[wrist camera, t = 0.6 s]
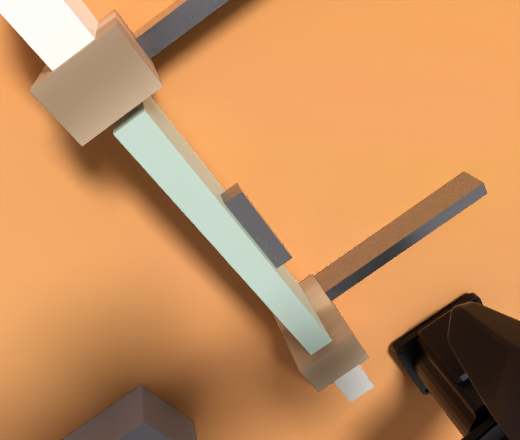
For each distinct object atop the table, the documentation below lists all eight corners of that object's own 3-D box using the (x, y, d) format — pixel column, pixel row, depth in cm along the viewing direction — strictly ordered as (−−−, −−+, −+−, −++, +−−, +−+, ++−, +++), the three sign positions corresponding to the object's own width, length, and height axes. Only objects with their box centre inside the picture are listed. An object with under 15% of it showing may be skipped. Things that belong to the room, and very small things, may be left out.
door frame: (485, 229, 27) (553, 277, 23) (308, 349, 28) (343, 417, 24) (303, -273, 14) (385, -374, 10) (-21, -20, 15) (-72, -14, 11)
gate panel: (310, 275, 25) (346, 330, 21) (280, 295, 25) (311, 355, 21) (153, 66, 17) (166, 94, 14) (112, 97, 17) (113, 134, 14)
